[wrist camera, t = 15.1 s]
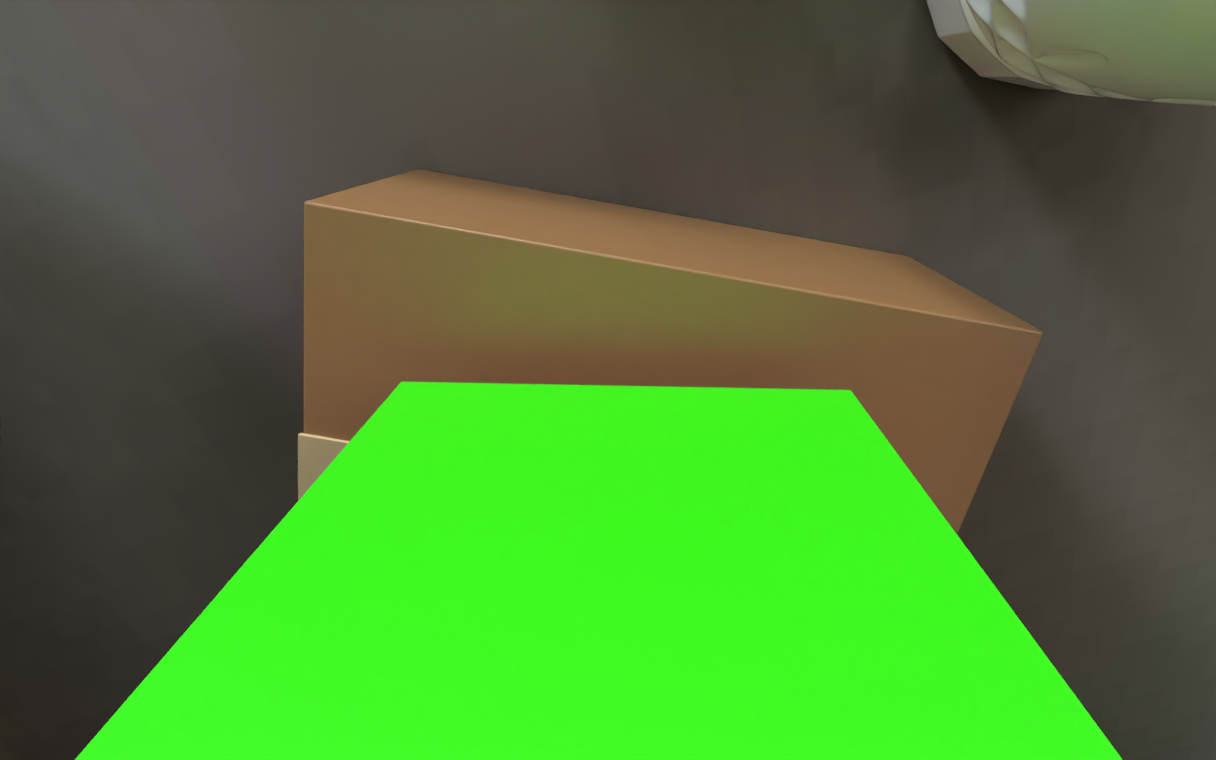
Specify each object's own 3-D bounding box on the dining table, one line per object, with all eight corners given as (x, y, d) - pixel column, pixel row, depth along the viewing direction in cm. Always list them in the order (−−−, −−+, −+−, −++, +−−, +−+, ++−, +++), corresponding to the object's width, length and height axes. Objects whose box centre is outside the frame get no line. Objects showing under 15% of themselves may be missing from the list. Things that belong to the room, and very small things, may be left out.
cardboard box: (911, 256, 19) (1051, 334, 13) (797, 595, 24) (856, 782, 17) (415, 168, 19) (296, 200, 12) (393, 528, 24) (298, 692, 17)
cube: (801, 727, 15) (959, 1333, 8) (440, 713, 15) (253, 1280, 8) (850, 390, 12) (1185, 846, 5) (401, 381, 12) (44, 794, 5)
